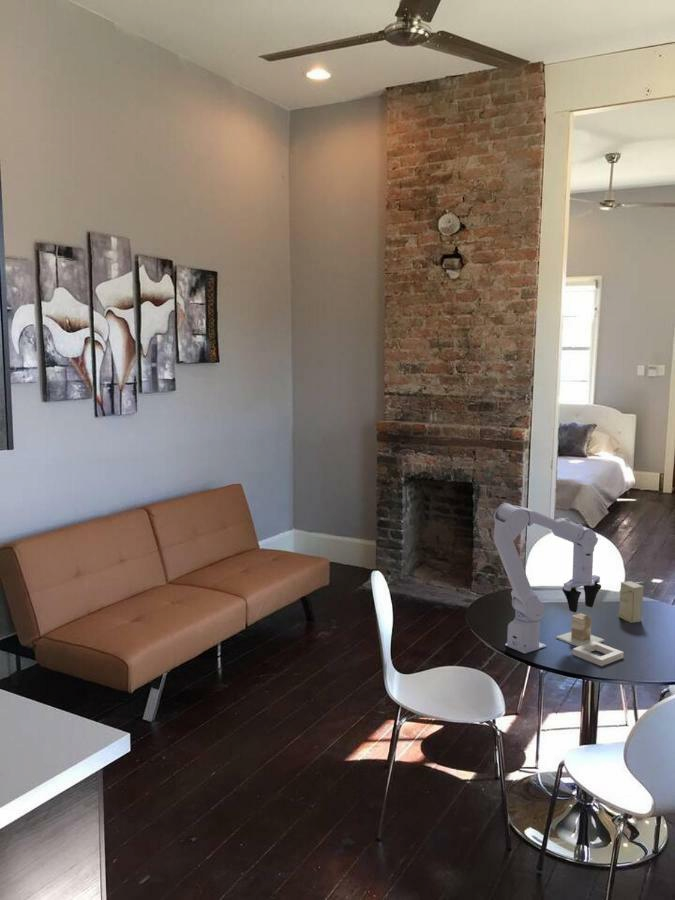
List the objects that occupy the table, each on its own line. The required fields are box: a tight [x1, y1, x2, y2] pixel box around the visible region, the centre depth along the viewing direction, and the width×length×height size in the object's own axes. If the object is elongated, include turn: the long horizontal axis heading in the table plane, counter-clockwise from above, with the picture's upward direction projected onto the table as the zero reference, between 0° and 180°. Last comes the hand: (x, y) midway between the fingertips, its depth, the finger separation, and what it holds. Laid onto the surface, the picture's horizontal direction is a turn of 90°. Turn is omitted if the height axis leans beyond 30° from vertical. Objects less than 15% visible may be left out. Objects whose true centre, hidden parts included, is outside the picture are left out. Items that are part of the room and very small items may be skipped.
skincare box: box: [618, 580, 645, 624], centre depth 244 cm, size 6×4×12 cm
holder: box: [572, 641, 625, 667], centre depth 215 cm, size 10×10×2 cm
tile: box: [555, 631, 605, 647], centre depth 228 cm, size 10×10×1 cm
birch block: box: [570, 613, 592, 641], centre depth 227 cm, size 4×4×7 cm
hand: (581, 608), depth 227 cm, fingers open, 7 cm apart
